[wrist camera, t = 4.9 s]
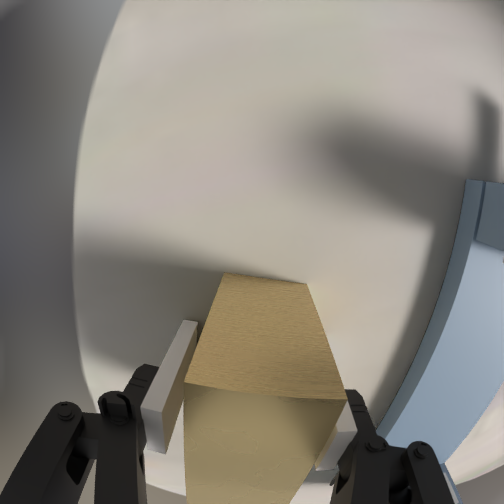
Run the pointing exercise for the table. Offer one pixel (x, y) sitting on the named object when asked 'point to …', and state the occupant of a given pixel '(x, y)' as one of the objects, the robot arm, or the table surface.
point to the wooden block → (258, 394)
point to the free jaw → (492, 216)
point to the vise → (455, 348)
